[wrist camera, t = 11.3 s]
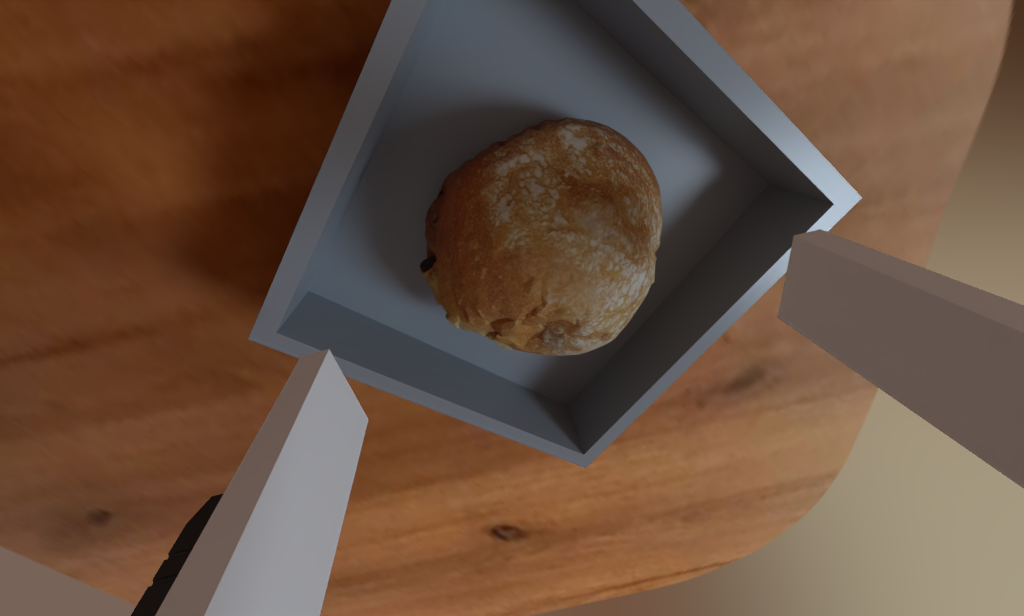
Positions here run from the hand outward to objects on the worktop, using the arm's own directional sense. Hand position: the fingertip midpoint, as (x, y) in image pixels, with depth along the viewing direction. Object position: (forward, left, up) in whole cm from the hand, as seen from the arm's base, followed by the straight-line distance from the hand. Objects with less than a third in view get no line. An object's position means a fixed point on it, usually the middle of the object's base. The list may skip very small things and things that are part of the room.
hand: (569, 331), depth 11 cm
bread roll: (0, 0, -9) cm, 9 cm away
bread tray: (0, 0, -9) cm, 9 cm away
